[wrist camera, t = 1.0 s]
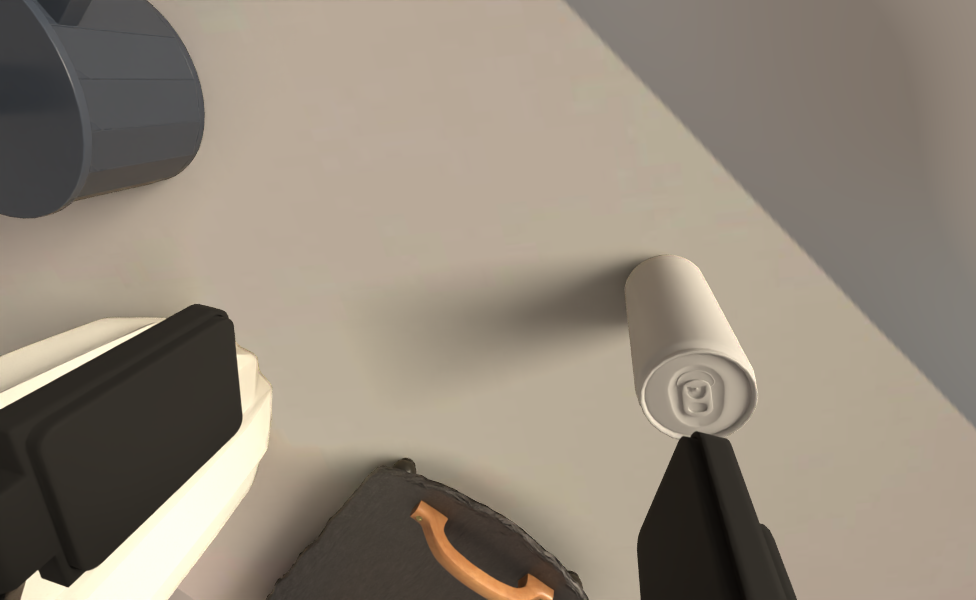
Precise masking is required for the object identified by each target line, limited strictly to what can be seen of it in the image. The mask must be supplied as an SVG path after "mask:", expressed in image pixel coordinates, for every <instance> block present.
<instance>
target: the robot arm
mask: <svg viewBox="0 0 976 600" xmlns="http://www.w3.org/2000/svg"><path fill="white" fill-rule="evenodd" d="M242 420H243V414H242V404H241V394H240V384H239V374H238V364H237V354H236V343H235V333H234V325H233V322H232V321H231V320H230V319H229V318H228V315H227V313H226V312H225V311H223V310H220V309H216V308H212V307H209V306H205V305H201V304H194V305H191V306H189V307H187V308H185V309H183V310H182V311H180V312H178V313H176V314H174V315H172V316H171V317H169V318H167V319H165V320H163V321H161V322H160V323H158V324H156V325H154V326H152V327H150V328H149V329H147V330H145V331H143V332H141V333H139V334H138V335H136V336H134V337H132V338H130V339H128V340H127V341H125V342H123V343H121V344H119V345H117V346H116V347H114V348H112V349H110V350H108V351H106V352H105V353H103V354H101V355H99V356H97V357H95V358H93V359H92V360H90V361H88V362H86V363H84V364H82V365H81V366H79V367H77V368H75V369H73V370H71V371H70V372H68V373H66V374H64V375H62V376H60V377H59V378H57V379H55V380H53V381H51V382H49V383H48V384H46V385H44V386H42V387H40V388H38V389H37V390H35V391H33V392H31V393H29V394H27V395H26V396H24V397H22V398H20V399H18V400H16V401H15V402H13V403H11V404H9V405H7V406H5V407H4V408H2V409H0V600H21V596H22V593H23V590H24V586H25V583H26V580H27V579H28V578H30V577H31V576H32V575H33V574H34V573H35V572H36V571H39V573H40V576H41V578H42V579H45V580H48V581H51V582H53V583H56V584H59V585H62V586H65V587H68V588H69V587H70V586H71V585H72V584H73V583H74V582H75V581H76V580H77V579H78V578H79V577H80V576H81V575H83V574H84V573H85V572H86V571H89V570H93V569H94V568H96V567H98V566H99V565H100V564H101V563H103V562H104V561H105V560H106V559H107V558H108V557H109V556H110V555H111V554H112V553H113V552H114V551H115V550H116V549H117V548H118V547H119V546H120V545H121V544H122V543H123V542H125V541H126V540H127V539H128V538H129V537H130V536H131V535H132V534H133V533H134V532H135V531H136V530H137V529H138V528H139V527H140V526H141V525H142V524H143V523H144V522H145V521H146V520H147V519H148V518H149V517H150V516H151V515H153V514H154V513H155V512H156V511H157V510H158V509H159V508H160V507H161V506H162V505H163V504H164V503H165V502H166V501H167V500H168V499H169V498H170V497H171V496H172V495H173V494H174V493H175V492H176V491H177V490H178V489H179V488H181V487H182V486H183V485H184V484H185V483H186V482H187V481H188V480H189V479H190V478H191V477H192V476H193V475H194V474H195V473H196V472H197V471H198V470H199V469H200V468H201V467H202V466H203V465H204V464H205V463H206V462H207V461H209V460H210V459H211V458H212V457H213V456H214V455H215V454H216V453H217V452H218V451H219V450H220V449H221V448H222V447H223V446H224V445H225V444H226V443H227V442H228V441H229V440H230V439H231V438H232V437H233V436H234V435H235V434H236V433H237V432H238V430H239V429H240V427H241V424H242ZM637 556H638V569H639V582H640V595H641V600H797V598H796V596H795V593H794V590H793V588H792V585H791V582H790V580H789V577H788V575H787V572H786V569H785V567H784V564H783V561H782V559H781V556H780V553H779V551H778V548H777V545H776V543H775V540H774V538H773V536H772V534H771V532H770V530H769V529H768V528H767V527H766V526H765V525H763V524H760V523H759V521H758V518H757V515H756V512H755V509H754V507H753V504H752V501H751V498H750V496H749V493H748V490H747V487H746V484H745V482H744V479H743V476H742V473H741V470H740V468H739V465H738V462H737V459H736V457H735V454H734V451H733V448H732V445H731V443H730V441H729V440H728V439H726V438H722V437H718V436H714V435H710V434H706V433H702V432H698V431H695V432H694V433H693V434H692V435H691V436H690V437H686V436H682V437H681V438H680V440H679V442H678V444H677V446H676V449H675V451H674V453H673V456H672V458H671V460H670V462H669V465H668V467H667V469H666V472H665V474H664V476H663V479H662V481H661V483H660V486H659V488H658V490H657V493H656V495H655V497H654V500H653V502H652V504H651V506H650V509H649V511H648V513H647V516H646V518H645V520H644V523H643V525H642V527H641V530H640V533H639V536H638V543H637Z"/></svg>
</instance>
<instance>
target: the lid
mask: <svg viewBox="0 0 976 600" xmlns="http://www.w3.org/2000/svg"><path fill="white" fill-rule="evenodd" d="M92 143H93V142H92V129H91V122H90V116H89V111H88V106H87V102H86V99H85V95H84V92H83V88H82V86H81V83H80V80H79V78H78V75H77V73H76V70H75V68H74V66H73V63H72V61H71V59H70V57H69V55H68V53H67V51H66V49H65V47H64V45H63V44H62V42H61V40H60V39H59V37H58V35H57V33H56V32H55V30H54V28H53V27H52V25H51V24H50V23H49V21H48V20H47V18H46V17H45V15H44V14H43V12H42V11H41V10H40V8H39V7H38V6H37V5H36V4H35V2H34V1H33V0H0V214H2V215H6V216H9V217H16V218H38V217H42V216H47V215H51V214H54V213H56V212H59V211H61V210H63V209H64V208H66V207H67V206H68V205H70V204H71V203H72V202H73V201H74V200H75V199H76V197H77V196H78V195H79V194H80V192H81V190H82V189H83V187H84V185H85V183H86V180H87V177H88V174H89V171H90V165H91V160H92Z"/></svg>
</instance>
